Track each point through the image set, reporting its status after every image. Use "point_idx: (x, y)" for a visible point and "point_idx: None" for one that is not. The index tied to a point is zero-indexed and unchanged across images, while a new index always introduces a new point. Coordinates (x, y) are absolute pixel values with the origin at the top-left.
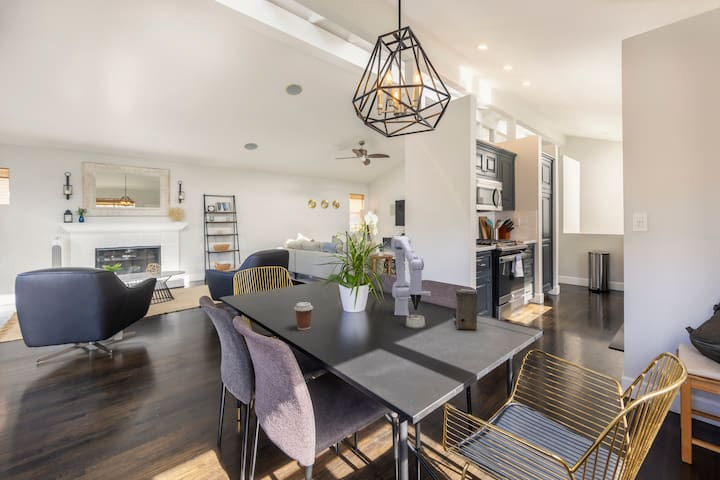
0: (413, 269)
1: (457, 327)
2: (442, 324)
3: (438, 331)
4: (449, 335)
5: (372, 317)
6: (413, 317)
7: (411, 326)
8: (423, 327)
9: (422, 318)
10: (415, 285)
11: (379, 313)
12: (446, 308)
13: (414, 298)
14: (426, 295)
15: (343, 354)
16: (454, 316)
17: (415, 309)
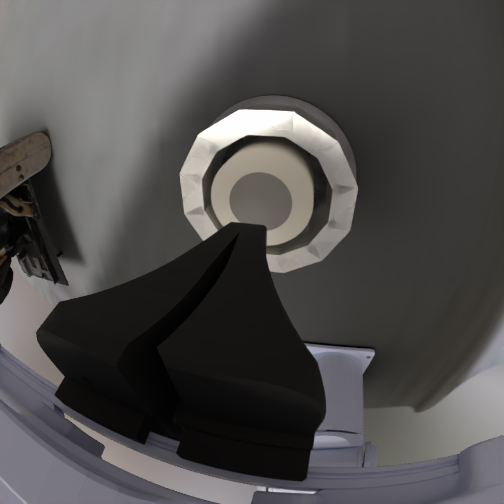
0: None
1: (39, 135)
2: (110, 207)
3: (121, 72)
4: (77, 31)
5: (486, 317)
6: (287, 169)
7: (312, 116)
8: (214, 122)
9: (198, 171)
10: None
11: (431, 364)
12: None
13: (199, 343)
14: (13, 358)
15: None
16: (53, 253)
17: (247, 224)
